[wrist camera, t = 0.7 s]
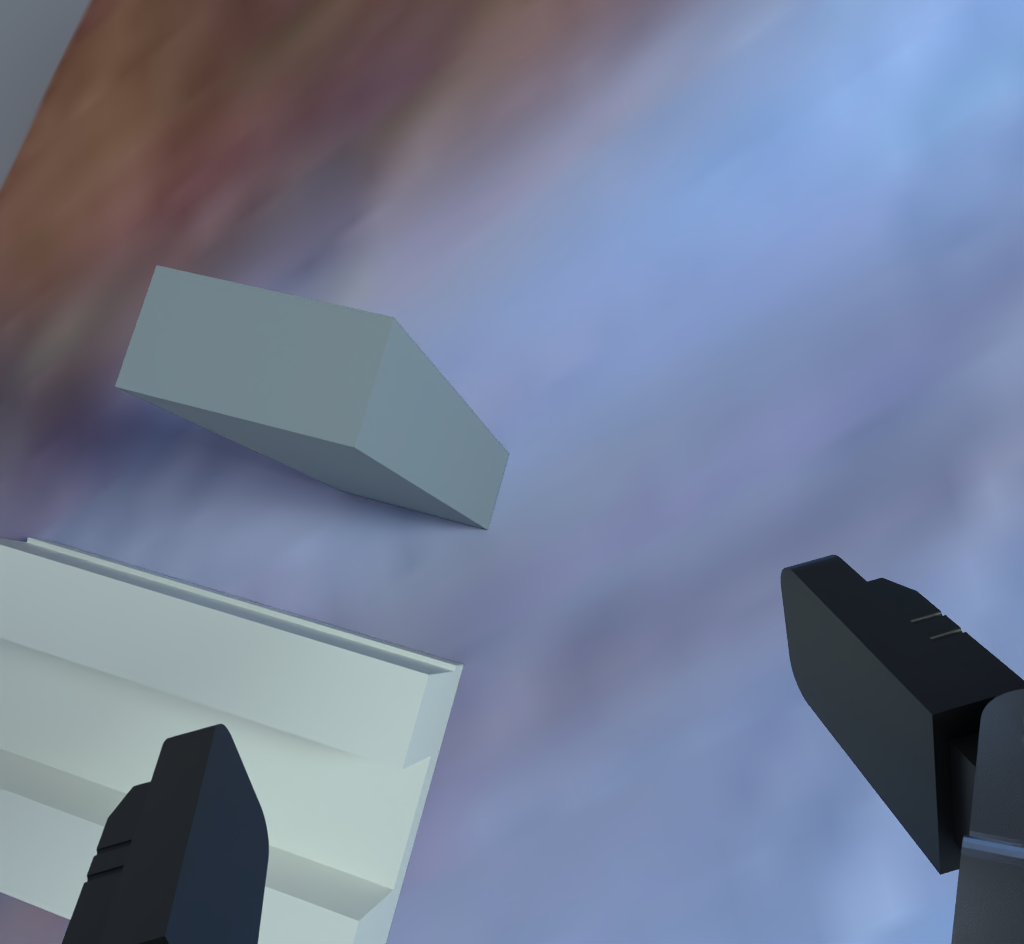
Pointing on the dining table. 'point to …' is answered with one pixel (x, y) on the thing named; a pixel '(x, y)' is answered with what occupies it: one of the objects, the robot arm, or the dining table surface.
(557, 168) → the dining table surface
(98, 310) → the dining table surface
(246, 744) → the rail
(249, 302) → the slate slat
